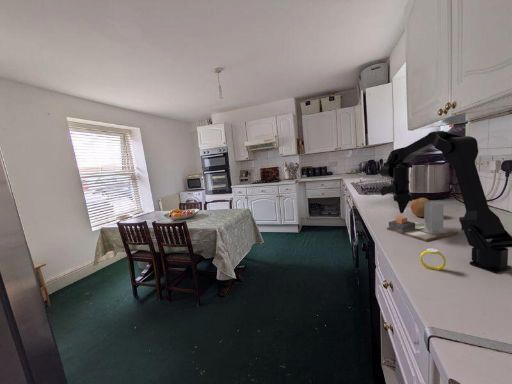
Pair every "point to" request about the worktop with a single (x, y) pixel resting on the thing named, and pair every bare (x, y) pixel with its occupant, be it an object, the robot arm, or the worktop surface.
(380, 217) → the worktop surface
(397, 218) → the button
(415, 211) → the onion
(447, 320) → the worktop surface
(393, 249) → the worktop surface
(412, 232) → the square tray
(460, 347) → the worktop surface
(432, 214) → the skincare box
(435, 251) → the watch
